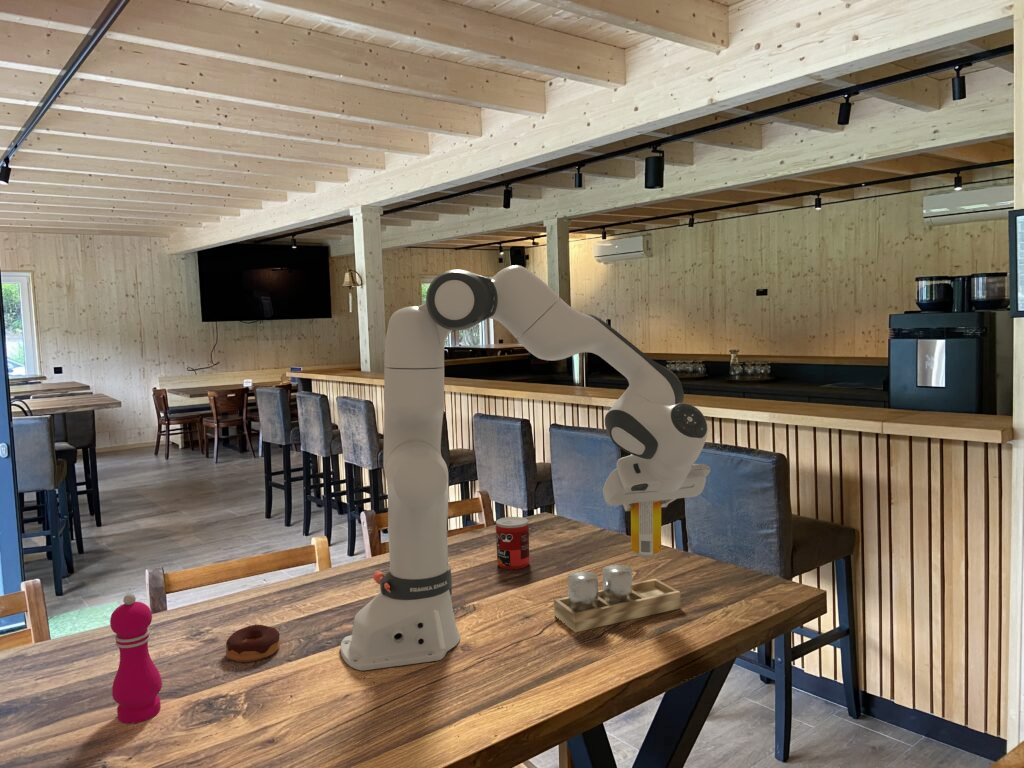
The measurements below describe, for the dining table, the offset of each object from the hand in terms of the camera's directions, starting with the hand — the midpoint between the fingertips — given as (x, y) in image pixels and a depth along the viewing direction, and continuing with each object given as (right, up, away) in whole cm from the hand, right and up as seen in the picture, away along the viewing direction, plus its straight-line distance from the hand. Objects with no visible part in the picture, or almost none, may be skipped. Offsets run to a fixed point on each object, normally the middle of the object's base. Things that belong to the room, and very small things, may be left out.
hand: (644, 506), depth 157 cm
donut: (-76, -26, -12) cm, 81 cm away
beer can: (+1, -10, +1) cm, 10 cm away
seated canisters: (-9, -20, -1) cm, 22 cm away
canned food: (-27, -20, +32) cm, 46 cm away
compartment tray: (-5, -22, +1) cm, 23 cm away
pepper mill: (-87, -29, -33) cm, 97 cm away
